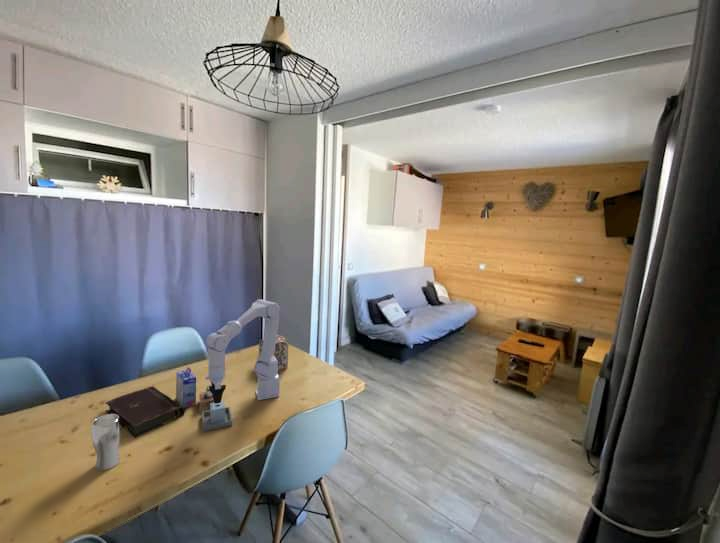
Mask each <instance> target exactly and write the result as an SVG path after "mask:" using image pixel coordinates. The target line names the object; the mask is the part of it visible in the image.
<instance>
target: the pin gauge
mask: <svg viewBox="0 0 720 543" xmlns="http://www.w3.org/2000/svg"><path fill="white" fill-rule="evenodd" d="M209 386H212V384H209V385H207V386H206V387H205V388H206V389H205V390H206V391H205V392H206V399H209V398H213V395H212V393H211V392H210V390H209Z"/></svg>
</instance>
